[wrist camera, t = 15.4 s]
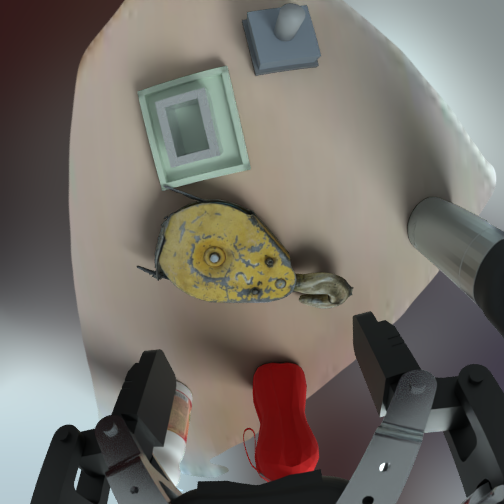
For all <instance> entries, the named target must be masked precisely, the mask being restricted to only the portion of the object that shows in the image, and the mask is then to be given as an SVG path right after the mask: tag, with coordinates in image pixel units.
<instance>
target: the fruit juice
mask: <svg viewBox="0 0 504 504" xmlns="http://www.w3.org/2000/svg"><path fill="white" fill-rule="evenodd" d="M191 408H192V393H191V391H190V390H189V389H188V388H187V387H186V386H185V385H183V384H182V383H180V382H178V381H176V391H175V395H174V400H173V404H172V409H171V414H170V419H169V423H168V428H167V433H166V438H165V443H164V447H154V448H153V454H154V455H155V456H156V458H157V460H158V461H159V463H160V464H161V466H162V467H163V469H164V471H165V472H166V474H167V475H168V477H169V478H170V479H171V481H172V482H173V484H174V485H175V486H177V485H178V484H179V481H180V477H181V472H180V466H179V464H180V462H181V461H182V459H183V457H184V453H185V448H186V440H187V434H188V427H189V420H190V414H191Z"/></svg>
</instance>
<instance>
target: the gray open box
mask: <svg viewBox="0 0 504 504" xmlns="http://www.w3.org/2000/svg"><path fill="white" fill-rule="evenodd" d="M198 103H199V106H200V110H201V115H202V119H203V123H204V127H205V131H206V136H207V140H208V144H209V148H205V149H201V150H197V151H193V152H190V153H185V149H184V145H183V141H182V137H181V133H180V129H179V124H178V120H177V116H176V112H175V110H176V109H180V108H183V107H187V106H190V105H194V104H198ZM155 105H156V110H157V114H158V118H159V122H160V126H161V131H162V135H163V139H164V143H165V147H166V151H167V154H168V158H169V162H170V166H171V168H173V167H177V166H180V165H184V164H188V163H192V162H195V161H199V160H203V159H207V158H211V157H216V156H220V155H221V154H222V153H223V152H224V151H223V146H222V142H221V138H220V134H219V129H218V125H217V121H216V116H215V112H214V108H213V104H212V99H211V95H210V92H209V91H208V90H207V89H206V88H201V89H197V90H193V91H190V92H186V93H183V94H179V95H176V96H173V97H169V98H166V99H163V100H160V101H157V102H155Z"/></svg>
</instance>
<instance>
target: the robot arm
mask: <svg viewBox="0 0 504 504" xmlns="http://www.w3.org/2000/svg"><path fill="white" fill-rule="evenodd" d="M408 237H409V240H410V242H411V244H412V245H413V246H414V247H415V248H416V249H417V250H418V251H419V252H420V253H421V254H423V255H424V256H425V257H426V258H427V259H428V260H429V261H430V262H432V263H433V264H434V265H435V266H436V267H437V268H438V269H439V270H441V271H442V272H443V273H444V274H445V275H446V276H447V277H448V278H449V279H451V280H452V281H453V282H454V283H455V284H456V285H457V286H458V287H459V288H460V289H461V290H462V291H463V292H465V293H466V294H467V295H468V296H469V297H470V298H471V299H472V300H473V301H474V302H475V303H476V304H477V305H478V306H479V307H480V308H481V309H482V310H483V312H484V314H485V316H486V317H487V319H488V320H489V321H490V322H491V323H492V325H493V326H494V327H495V328H496V329H497V330H498V332H499V333H500V334H501V335H502V336H503V338H504V231H502V230H500V229H498V228H496V227H495V226H493V225H491V224H489V223H488V222H487V221H486V220H485V219H483V218H481V217H479V216H477V215H475V214H473V213H471V212H469V211H468V210H466V209H464V208H462V207H460V206H458V205H456V204H454V203H449V202H447V201H445V200H443V199H441V198H438V197H430V198H427V199H425V200H423V201H422V202H420V203H419V204H418V205H417V206H416V207H415V209H414V210H413V212H412V214H411V216H410V219H409V223H408ZM353 346H354V352H355V356H356V359H357V361H358V363H359V366H360V368H361V371H362V373H363V376H364V378H365V381H366V383H367V386H368V388H369V391H370V393H371V396H372V399H373V401H374V403H375V406H376V409H377V412H378V414H379V417H382V416H385V417H384V420H383V422H382V424H381V426H379V427H378V428H377V430H376V432H375V434H374V436H373V438H372V440H371V442H370V444H369V446H368V448H367V450H366V452H365V454H364V456H363V458H362V460H361V461H360V463H359V465H358V467H357V469H356V471H355V473H354V474H353V476H352V478H351V480H350V481H349V480H346V479H342V478H338V477H332V476H322V474H321V470H315V471H309V472H304V473H298V474H291V475H288V476H285V477H282V478H279V479H276V480H273V481H271V482H268V483H265V484H261V485H250V484H242V483H236V482H230V481H202V482H201V481H199V482H198V486H197V489H194V490H191V491H188V492H186V493H184V494H182V493H181V492H180V491H179V490H178V489H177V488H176V486H175V485H174V484H173V482H172V481H171V479H170V478H169V477H168V475H167V474H166V472H165V471H164V469H163V467H162V466H161V464H160V463H159V461H158V460H157V458H156V456H155V455H154V454H153V448H154V447H164V443H165V438H166V433H167V428H168V423H169V419H170V414H171V409H172V404H173V400H174V395H175V391H176V377H175V374H174V372H173V370H172V368H171V366H170V364H169V362H168V361H167V359H166V357H165V355H164V353H163V351H162V350H160V349H159V350H149V351H144V352H143V353H142V356H141V358H140V361H139V363H135V364H134V365H133V366H132V368H131V369H130V370H129V371H128V373H127V376H126V378H125V382H124V383H123V386H122V390H121V391H120V393H119V396H118V399H117V401H116V404H115V407H114V409H113V412H112V415H109V416H106V417H104V418H102V419H101V420H100V421H99V422H98V423H97V425H96V427H95V429H91V430H87V431H82V432H80V431H79V430H78V429H77V428H76V427H75V426H73V425H64V426H62V427H60V428H59V429H58V430H57V431H56V432H55V434H54V436H53V438H52V441H51V443H50V446H49V449H48V451H47V454H46V457H45V460H44V463H43V466H42V468H41V471H40V474H39V477H38V480H37V483H36V487H35V490H34V493H33V496H32V500H31V503H30V504H107V501H108V495H109V491H110V487H111V489H112V492H113V494H114V496H115V498H116V500H117V502H118V504H396V502H397V500H398V498H399V496H400V494H401V492H402V489H403V487H404V485H405V483H406V480H407V478H408V476H409V473H410V471H411V468H412V466H413V464H414V461H415V458H416V456H417V453H418V450H419V448H420V445H421V442H422V438H423V433H427V432H438V431H443V433H444V435H445V438H446V440H447V443H448V445H449V448H450V451H451V453H452V456H453V459H454V461H455V464H456V467H457V470H458V472H459V476H460V478H461V481H462V484H463V487H464V491H465V494H466V497H467V499H465V500H464V501H463V502H462V504H504V393H503V391H502V390H501V388H500V387H499V385H498V383H497V382H496V380H495V378H494V377H493V375H492V374H491V372H490V371H489V370H488V369H487V368H486V367H484V366H482V365H478V364H471V365H468V366H466V367H464V368H463V369H462V370H461V371H460V373H459V376H455V377H446V378H436V377H434V376H433V375H432V374H431V373H429V372H428V371H425V370H421V368H420V367H419V365H418V363H417V362H416V360H415V358H414V357H413V355H412V353H411V352H410V350H409V348H408V347H407V345H406V344H405V343H404V340H403V339H402V337H400V334H399V332H398V331H397V329H396V328H395V326H393V325H392V324H390V323H389V322H387V321H386V320H384V321H380V322H378V321H377V320H376V318H375V316H374V315H373V313H372V312H371V311H370V312H366V313H362V314H358V315H354V316H353ZM78 468H80V469H81V474H80V477H79V481H78V485H77V489H76V490H75V488H74V481H75V477H76V474H77V470H78Z"/></svg>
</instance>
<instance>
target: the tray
mask: <svg viewBox="0 0 504 504" xmlns="http://www.w3.org/2000/svg"><path fill="white" fill-rule="evenodd" d="M201 88H206V89H207V90H208V91H209V92H210V95H211V99H212V104H213V108H214V112H215V116H216V121H217V125H218V129H219V134H220V138H221V142H222V146H223V151H224V152H223V153H222V154H221V155H220V156H216V157H211V158H207V159H203V160H199V161H195V162H192V163H188V164H184V165H180V166H177V167H173V168H171V166H170V162H169V158H168V154H167V151H166V147H165V143H164V139H163V135H162V131H161V126H160V122H159V118H158V114H157V110H156V105H155V102H157V101H160V100H163V99H166V98H169V97H173V96H176V95H179V94H183V93H186V92H190V91H193V90H197V89H201ZM138 97H139V101H140V106H141V110H142V114H143V119H144V123H145V127H146V131H147V135H148V139H149V143H150V147H151V151H152V155H153V158H154V162H155V166H156V170H157V173H158V177H159V180H160V184H161V188H162V191H163V190H167V188H165V187H164V186H169V187H171V188H174V187H178V186H182V185H186V184H190V183H194V182H198V181H202V180H206V179H210V178H214V177H218V176H223V175H227V174H231V173H236V172H240V171H245V170H250V169H251V167H250V163H249V158H248V154H247V149H246V145H245V141H244V136H243V132H242V127H241V123H240V119H239V114H238V110H237V106H236V101H235V97H234V93H233V88H232V84H231V80H230V76H229V71H228V68H227V66H223V67H219V68H215V69H211V70H207V71H203V72H199V73H195V74H192V75H188V76H184V77H181V78H178V79H174V80H171V81H168V82H165V83H162V84H159V85H156V86H153V87H150V88H147V89H144V90H141V91H138ZM175 112H176V116H177V120H178V124H179V129H180V133H181V137H182V141H183V145H184V149H185V153H190V152H193V151H197V150H201V149H205V148H209V144H208V140H207V136H206V131H205V127H204V123H203V119H202V115H201V110H200V106H199V103H198V104H194V105H190V106H187V107H183V108H180V109H176V110H175Z"/></svg>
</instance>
